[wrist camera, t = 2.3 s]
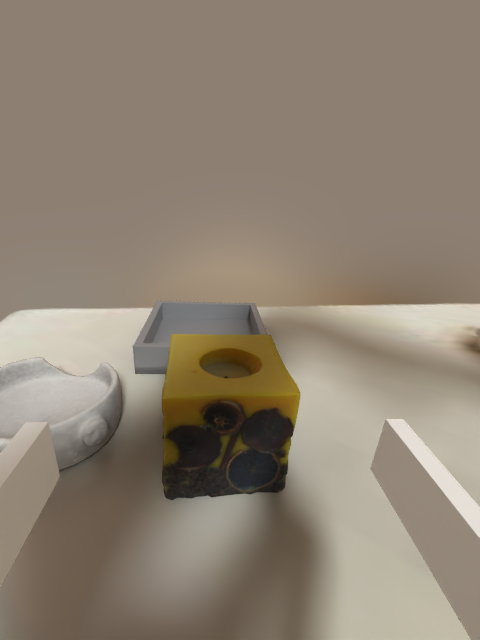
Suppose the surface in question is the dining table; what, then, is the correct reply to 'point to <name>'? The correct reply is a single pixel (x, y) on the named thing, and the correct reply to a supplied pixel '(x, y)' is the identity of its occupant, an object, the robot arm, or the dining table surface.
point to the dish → (60, 406)
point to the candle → (226, 416)
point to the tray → (189, 328)
